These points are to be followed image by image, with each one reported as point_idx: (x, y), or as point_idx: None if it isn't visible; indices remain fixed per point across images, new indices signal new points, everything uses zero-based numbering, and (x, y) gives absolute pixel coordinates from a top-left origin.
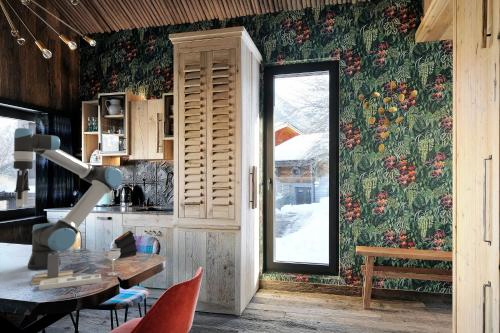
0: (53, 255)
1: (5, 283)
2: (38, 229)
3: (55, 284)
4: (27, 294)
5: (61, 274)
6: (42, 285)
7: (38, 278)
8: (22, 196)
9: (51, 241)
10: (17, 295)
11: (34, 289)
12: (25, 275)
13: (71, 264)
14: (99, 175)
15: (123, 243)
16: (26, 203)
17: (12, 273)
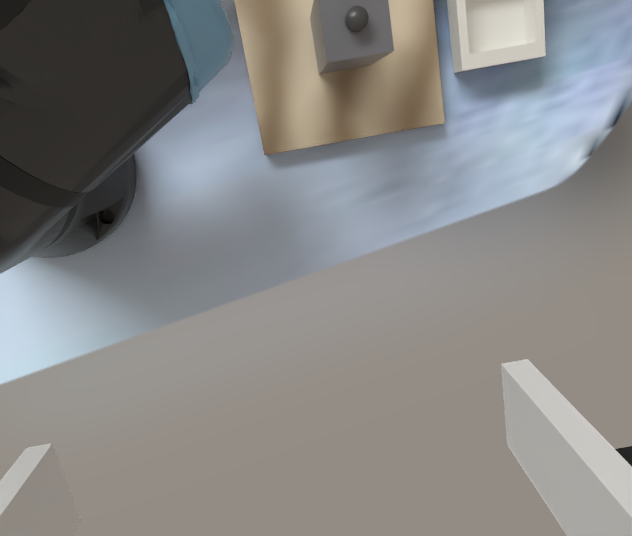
0: (389, 13)
1: (349, 255)
2: None
3: None
4: (556, 100)
5: (311, 2)
6: (544, 40)
7: (357, 112)
8: (628, 476)
9: (227, 62)
10: (553, 140)
11: (491, 90)
12: (230, 211)
13: None
14: None
15: None
16: (55, 462)
17: (177, 287)
